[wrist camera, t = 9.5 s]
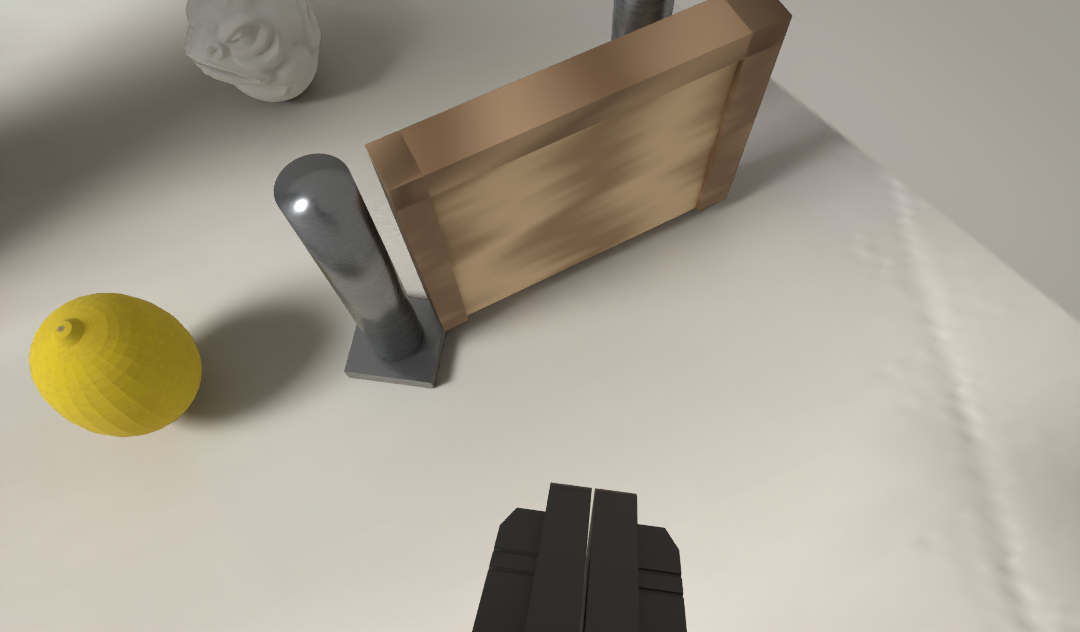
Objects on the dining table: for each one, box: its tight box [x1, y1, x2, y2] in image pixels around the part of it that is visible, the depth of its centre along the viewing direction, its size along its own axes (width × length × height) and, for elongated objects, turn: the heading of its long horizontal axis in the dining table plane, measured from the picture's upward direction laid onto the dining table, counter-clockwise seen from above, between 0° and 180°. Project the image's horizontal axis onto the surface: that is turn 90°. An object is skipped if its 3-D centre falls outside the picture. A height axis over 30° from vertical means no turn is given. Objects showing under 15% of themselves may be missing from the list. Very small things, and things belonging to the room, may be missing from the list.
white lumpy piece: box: [184, 0, 321, 102], centre depth 38 cm, size 6×7×7 cm
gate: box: [365, 0, 792, 332], centre depth 29 cm, size 15×2×11 cm, turn 117°
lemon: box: [29, 293, 202, 437], centre depth 30 cm, size 6×6×8 cm
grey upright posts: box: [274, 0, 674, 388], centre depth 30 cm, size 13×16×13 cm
